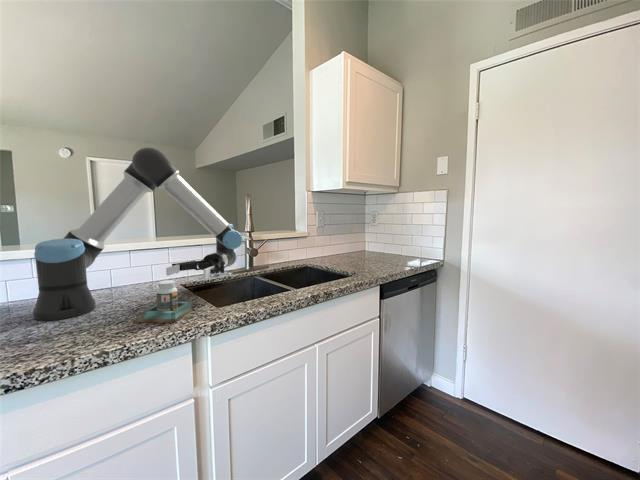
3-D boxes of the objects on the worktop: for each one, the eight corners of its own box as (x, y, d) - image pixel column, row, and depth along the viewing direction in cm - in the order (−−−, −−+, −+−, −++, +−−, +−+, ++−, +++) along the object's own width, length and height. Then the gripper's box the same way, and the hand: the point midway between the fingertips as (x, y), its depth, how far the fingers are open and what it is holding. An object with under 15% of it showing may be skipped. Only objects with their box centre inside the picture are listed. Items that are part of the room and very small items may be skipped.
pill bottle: (177, 314, 88) (176, 283, 87) (156, 317, 86) (154, 284, 85) (178, 308, 93) (177, 279, 92) (158, 310, 91) (157, 280, 90)
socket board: (135, 322, 85) (135, 312, 85) (155, 310, 95) (155, 301, 95) (175, 322, 85) (175, 312, 84) (191, 310, 95) (191, 301, 94)
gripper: (243, 272, 118) (220, 284, 97) (187, 269, 121) (152, 281, 100) (243, 254, 118) (220, 263, 97) (186, 252, 120) (151, 260, 99)
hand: (185, 272), depth 98 cm, fingers open, 13 cm apart
